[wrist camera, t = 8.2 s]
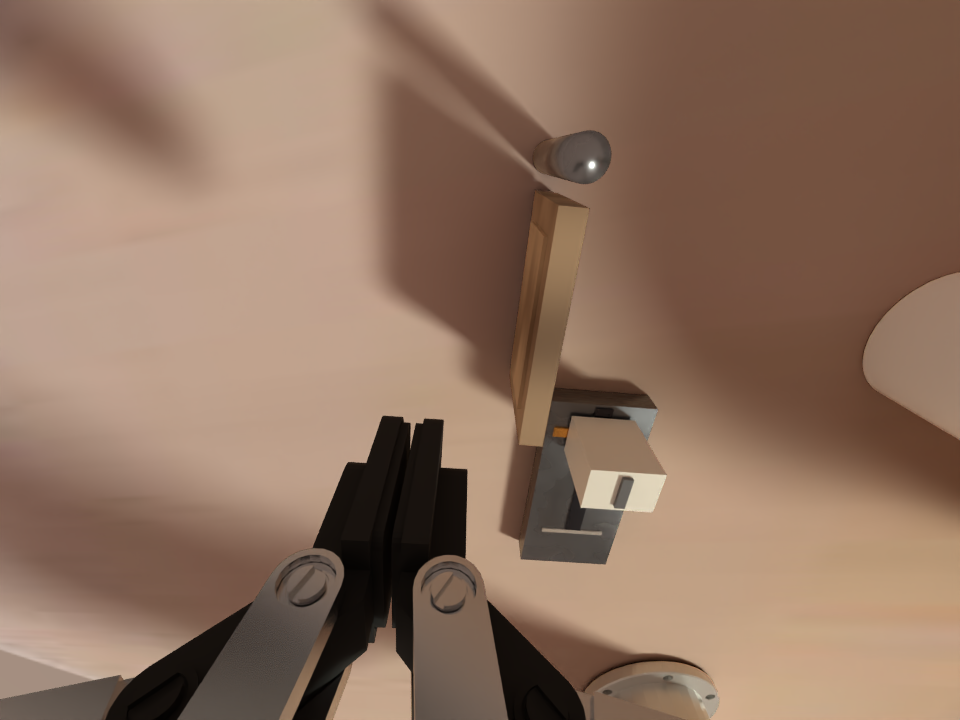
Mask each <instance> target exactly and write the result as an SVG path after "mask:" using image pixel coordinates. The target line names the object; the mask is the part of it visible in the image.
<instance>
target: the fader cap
mask: <svg viewBox="0 0 960 720" xmlns="http://www.w3.org/2000/svg"><path fill="white" fill-rule="evenodd" d="M564 451H565V455H566V458H567V462H568V465H569V469H570V472H571V476H572V479H573V483H574V486H575V489H576V493H577V496H578V500H579V503H580V507H581V508H594V509H609V510H624V511H639V512H653V510H654V508H655V505H656V502H657V500H658V497H659V495H660V492H661V489H662V487H663V484H664V482H665V479H666V476H667V474H666V473H665V471H664V469H663V468H662V466H661V464H660V462H659V461H658V459H657V457H656V456H655V454H654V452H653V451H652V449H651V447H650V445H649V444H648V442H647V440H646V439H645V437H644V435H643V434H642V432H641V430H640V428H639V427H638V425H637V423H636V422H635V421H633V420H620V419H607V418H594V417H581V416H572V418H571V422H570V426H569V431H568V435H567V439H566V444H565V448H564Z"/></svg>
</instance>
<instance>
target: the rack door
mask: <svg viewBox="0 0 960 720" xmlns="http://www.w3.org/2000/svg"><path fill="white" fill-rule="evenodd" d="M589 209H590V208H588V207H586V206H584V205H581V204H579V203H577V202H575V201H573V200H571V199H569V198H567V197H565V196H563V195H560V194H558V193H552V192H541V191H535V197H534V204H533V212H532V219H531V223H530V230H529V237H528V245H527V252H526V259H525V266H524V273H523V280H522V287H521V295H520V302H519V309H518V316H517V323H516V330H515V338H514V345H513V352H512V359H511V369H510V384H511V391H512V398H513V406H514V413H515V420H516V428H517V435H518V442H519V445H528V446H541V447H542V446H543V441H544V436H545V431H546V426H547V421H548V416H549V411H550V406H551V401H552V396H553V391H554V386H555V381H556V375H557V370H558V365H559V360H560V355H561V350H562V345H563V340H564V335H565V330H566V325H567V320H568V315H569V310H570V305H571V300H572V295H573V290H574V285H575V280H576V275H577V270H578V265H579V260H580V255H581V250H582V245H583V240H584V235H585V229H586V224H587V219H588V214H589Z"/></svg>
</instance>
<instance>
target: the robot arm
mask: <svg viewBox="0 0 960 720" xmlns="http://www.w3.org/2000/svg"><path fill="white" fill-rule="evenodd" d="M443 424H444V420H439V419H424V422H423V424H420V423H416V425H415V430H414V435H413V440H412V444H411V449H410V429H411V426H410V423H405V422H404V419H403V417H394V416H383V417H382V419H381V422H380V425H379V428H378V431H377V434H376V436H375V439H374V442H373V445H372V448H371V451H370V454H369V457H368V460H367V463H356V462H348V463H347V465H346V467H345V469H344V471H343V473H342V476H341V478H340V481H339V483H338V486H337V488H336V491H335V493H334V496H333V498H332V501H331V503H330V506H329V508H328V511H327V513H326V516H325V518H324V521H323V523H322V526H321V528H320V531H319V533H318V535H317V538H316V540H315V543H314V545H313V548H311V549H307V550H302V551H299V552H297V553H295V554H293V555H291V556H289V557H288V558H286V559H285V560H284V561H283V562H281V563H280V564H279V565H278V566H277V568H276V569H275V570H274V571H273V572H272V574H271V575H270V577H269V578H268V580H267V581H266V583H265V585H264V586H263V588H262V589H261V591H260V592H259V594H258V595H257V597H256V598H255V600H254V601H253V602H252V603H250V604H248V605H247V606H245V607H244V608H242V609H240V610H239V611H237V612H236V613H234V614H232V615H231V616H229V617H228V618H226V619H224V620H223V621H221V622H220V623H218V624H216V625H215V626H213V627H212V628H210V629H208V630H207V631H205V632H204V633H202V634H200V635H199V636H197V637H196V638H194V639H193V640H191V641H189V642H188V643H186V644H185V645H183V646H181V647H180V648H178V649H177V650H175V651H173V652H172V653H170V654H169V655H167V656H165V657H164V658H162V659H161V660H159V661H157V662H156V663H154V664H153V665H151V666H149V667H148V668H147V669H145V670H144V671H143V672H141V673H140V674H139V675H138V676H136V677H135V678H130V679H125V680H123V678H122V677H121V675H118V676H113V677H108V678H103V679H98V680H93V681H88V682H83V683H78V684H74V685H69V686H64V687H59V688H54V689H49V690H44V691H39V692H34V693H29V694H25V695H20V696H14V697H9V698H5V699H0V720H333V718H334V715H335V713H336V710H337V707H338V705H339V702H340V699H341V697H342V694H343V691H344V689H345V686H346V683H347V680H348V678H349V675H350V672H351V667H352V663H353V661H355V660H356V659H357V658H358V657H359V656H361V655H362V654H363V653H364V652H365V651H366V650H367V647H368V643H374V641H375V636H376V631H377V627H383V628H385V627H386V623H387V618H388V613H389V608H390V602H391V597H392V628H396V652H397V653H398V654H399V656H400V657H401V658H402V660H403V661H404V663H405V664H406V665H407V667H408V668H409V669H410V671H411V720H710V718H711V717H712V716H713V715H714V714H715V712H716V710H717V708H718V706H719V699H720V698H719V695H718V692H717V689H716V687H715V685H714V683H713V681H712V679H711V678H710V677H709V676H708V675H707V674H706V673H704V672H703V671H701V670H699V669H698V668H696V667H693V666H690V665H687V664H683V663H678V662H671V661H647V662H640V663H634V664H630V665H626V666H622V667H619V668H616V669H614V670H611V671H609V672H607V673H605V674H603V675H601V676H600V677H598V678H597V679H596V680H594V681H593V682H592V683H591V684H590V685H589V686H588V687H587V688H586V690H585V691H584V693H583V692H580V691H576V690H574V688H573V687H572V686H571V684H570V683H569V682H568V681H567V680H566V679H565V678H564V677H563V676H562V675H561V674H560V673H559V672H558V671H557V670H556V669H555V668H554V667H553V666H552V665H551V664H550V663H549V662H548V661H547V660H546V659H545V658H544V657H543V656H542V655H541V654H540V653H539V652H538V651H537V650H536V649H535V647H534V646H533V645H532V644H531V643H530V642H529V641H528V640H527V639H526V638H525V637H524V636H523V635H522V634H521V633H520V632H519V631H518V630H517V629H516V628H515V627H514V626H513V625H512V624H511V623H510V622H509V621H508V620H507V619H506V618H505V617H504V616H503V615H502V614H501V613H500V612H499V611H498V610H497V609H496V608H495V607H494V606H493V605H492V604H491V603H490V602H489V601H488V600H487V598H486V592H485V586H484V582H483V579H482V576H481V573H480V572H479V571H478V569H477V568H476V567H475V565H474V564H472V563H471V562H470V561H468V560H467V559H465V556H466V512H467V469H453V468H441V457H442V441H443Z"/></svg>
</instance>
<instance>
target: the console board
mask: <svg viewBox="0 0 960 720" xmlns="http://www.w3.org/2000/svg"><path fill="white" fill-rule="evenodd" d="M657 411H658V409H657V407H656V406H655V404H654V403H653V402H652V400H651V399H650V397H649V396H648V395H637V394H624V393H611V392H598V391H586V390H573V389H560V388H554V391H553V396H552V401H551V406H550V411H549V416H548V421H547V426H546V431H545V436H544V441H543V446H542V447H541V446H537V449H536V454H535V460H534V465H533V470H532V475H531V480H530V486H529V491H528V496H527V501H526V507H525V512H524V517H523V522H522V528H521V533H520V538H519V547H520V557H521V559H526V560H542V561H559V562H575V563H592V564H606V561H607V558H608V555H609V552H610V549H611V547H612V544H613V541H614V538H615V535H616V532H617V529H618V526H619V523H620V520H621V517H622V514H623V511H624V510H609V509H594V508H581V507H580V503H579V500H578V496H577V493H576V489H575V486H574V483H573V479H572V476H571V472H570V469H569V465H568V462H567V458H566V455H565V451H564V448H565V444H566V439H567V435H568V431H569V426H570V422H571V418H572V416H581V417H594V418H607V419H620V420H633V421H635V422H636V423H637V425H638V427H639V428H640V430H641V432H642V434H643V435H644V437H645V439H646V440H648V437H649V435H650V432H651V429H652V426H653V423H654V420H655V417H656V414H657Z"/></svg>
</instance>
